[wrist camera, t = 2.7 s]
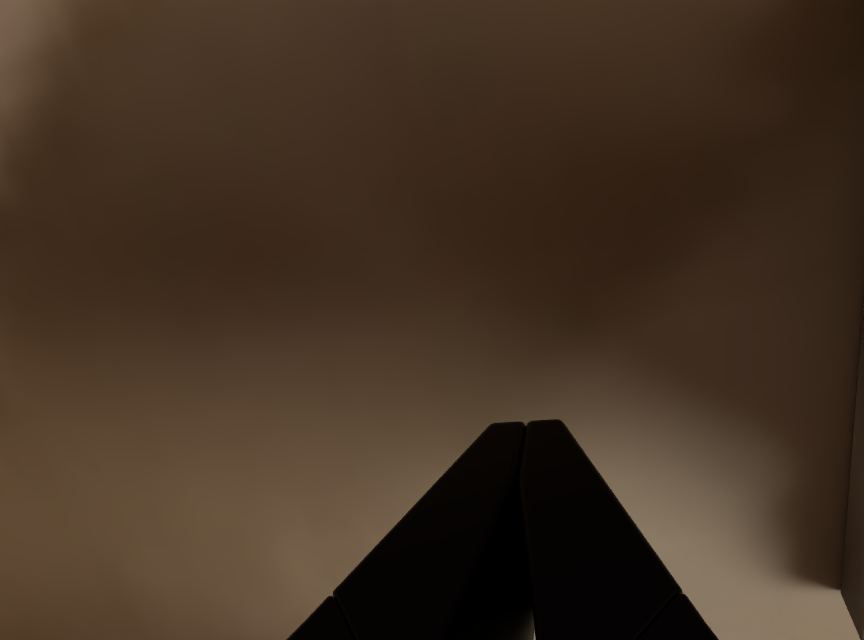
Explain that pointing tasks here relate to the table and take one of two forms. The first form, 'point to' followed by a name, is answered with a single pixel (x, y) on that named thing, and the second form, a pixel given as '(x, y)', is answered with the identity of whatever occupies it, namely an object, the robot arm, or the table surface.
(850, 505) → the guide board
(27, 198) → the table surface
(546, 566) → the robot arm
